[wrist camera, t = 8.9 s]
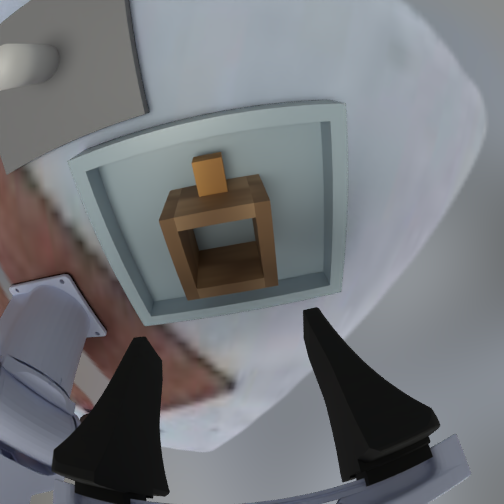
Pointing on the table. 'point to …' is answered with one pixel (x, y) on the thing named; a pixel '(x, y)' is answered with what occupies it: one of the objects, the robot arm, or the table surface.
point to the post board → (65, 75)
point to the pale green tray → (283, 217)
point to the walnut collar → (216, 212)
